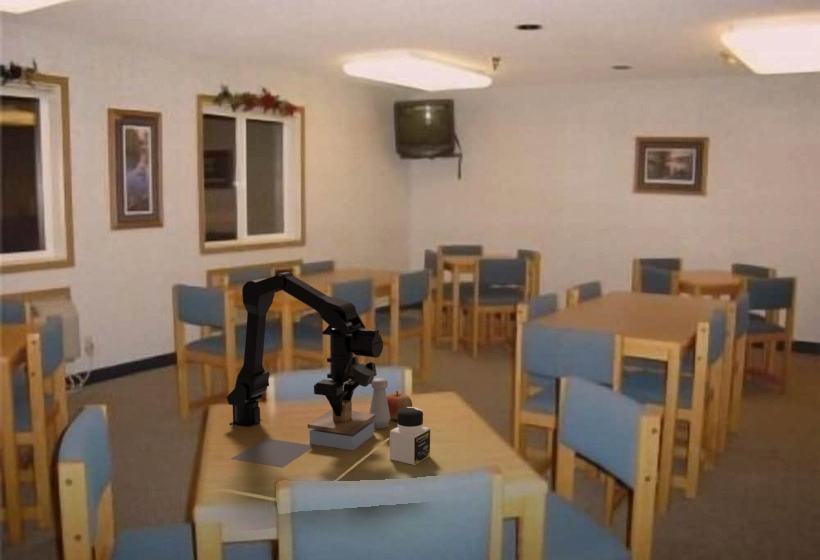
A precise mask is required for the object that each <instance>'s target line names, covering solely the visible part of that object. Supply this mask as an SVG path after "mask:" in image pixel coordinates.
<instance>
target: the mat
mask: <svg viewBox="0 0 820 560" xmlns="http://www.w3.org/2000/svg"><path fill="white" fill-rule="evenodd" d="M313 448H315V445H314V444H307V443H306V444H305V443H300V442H293V441H285V440H280V439H272V438H264V439H262V440H260V441H259V442H257V443H256V444H254V445H252V446H250V447H248V448H247V449H245V450H244V451H241V452H240V453H239V454H237V455H235V456H232V458H231V460H237V461H243V462H248V463H254V464H260V465H265V466H271V467H279V468H285V467H286V466H287V465H289V464H291V463H292V462H293V461H295V460H296V459H298V458H299V457H301V456H302V455H304V454H305V453H306V452H309V451H310V450H311V449H313Z"/></svg>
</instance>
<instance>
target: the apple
mask: <svg viewBox="0 0 820 560" xmlns="http://www.w3.org/2000/svg"><path fill="white" fill-rule="evenodd" d="M386 397H387V402H388V407H389V412H390V417H391V418H390V420H391V419H392V420H394V421H397V412H398V411H399V410H400V409H402V408H405V407H413V401H412V399H411V397H410V396H409V395H407V394H406V393H403V392H399V391H398V390H396V391H395V392H394V393H391V394H388V395H386Z"/></svg>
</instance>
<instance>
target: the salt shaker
mask: <svg viewBox="0 0 820 560" xmlns="http://www.w3.org/2000/svg"><path fill="white" fill-rule="evenodd" d="M370 385H371V387H372V389H373V391H372V395H371V397H372V398H371V402H370V407H369V412H368V413H371V414H376V418H375V419H373V420H372V422H374V429H376V428H377V429H378V430H379V429H380V430H383V429H386V427H388V425H389V423H390V421H391V417H390V412H389V407H388V402H387V391H386V389H387V388H388V385H389V382H388V380H387V378H383V377H376V378H373V381H372V383H371V384H370ZM382 428H383V429H382Z"/></svg>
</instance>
